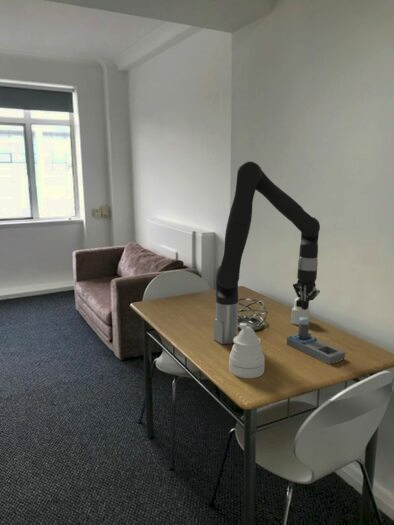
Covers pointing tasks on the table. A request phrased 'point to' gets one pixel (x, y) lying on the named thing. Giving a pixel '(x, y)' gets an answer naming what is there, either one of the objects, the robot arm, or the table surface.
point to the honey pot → (246, 354)
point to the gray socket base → (316, 348)
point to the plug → (303, 328)
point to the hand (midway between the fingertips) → (304, 309)
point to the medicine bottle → (298, 312)
